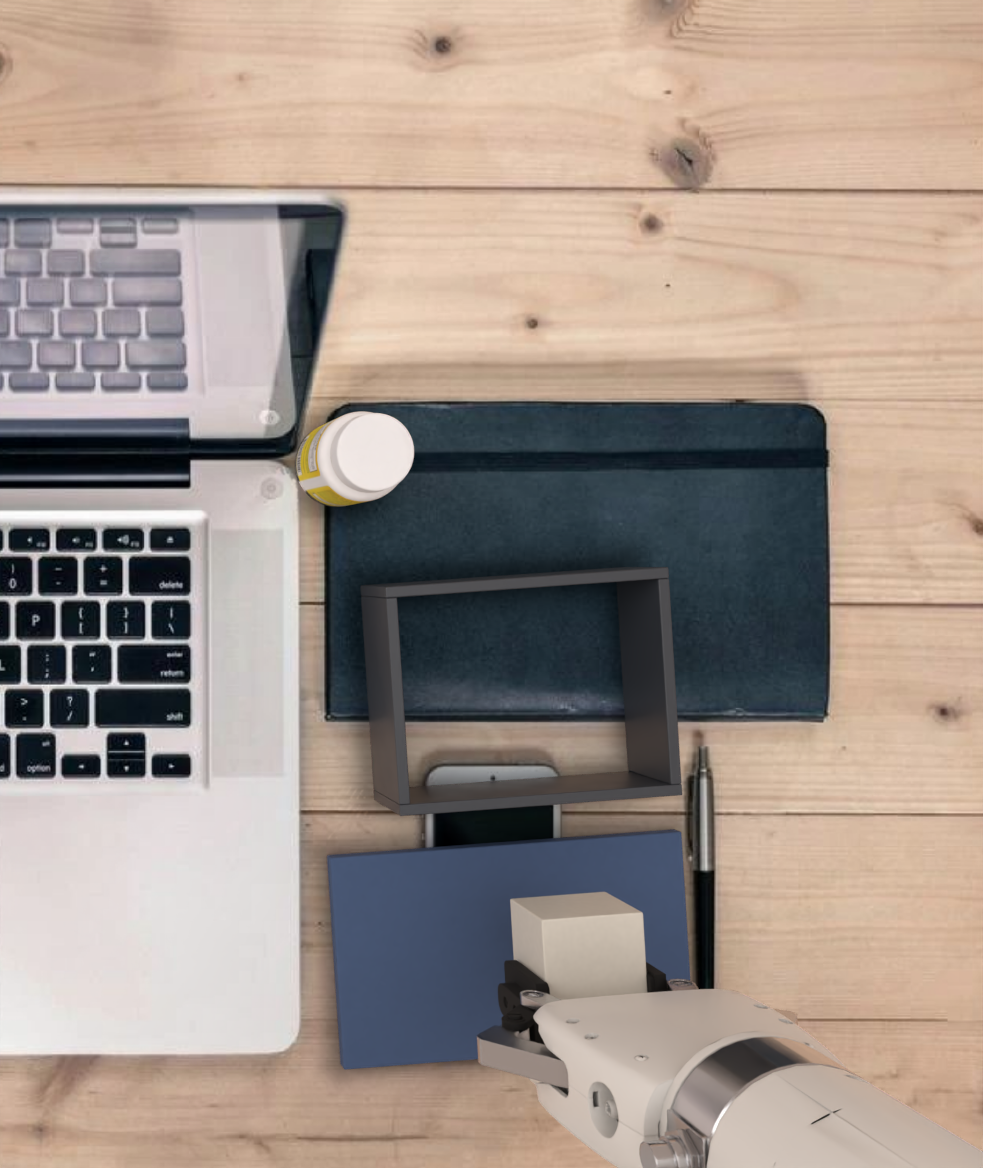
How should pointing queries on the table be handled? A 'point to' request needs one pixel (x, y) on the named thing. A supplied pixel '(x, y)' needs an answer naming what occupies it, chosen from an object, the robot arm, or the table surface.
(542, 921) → the block
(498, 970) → the pad
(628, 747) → the dark grey rectangular frame
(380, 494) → the supplement bottle
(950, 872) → the table surface
